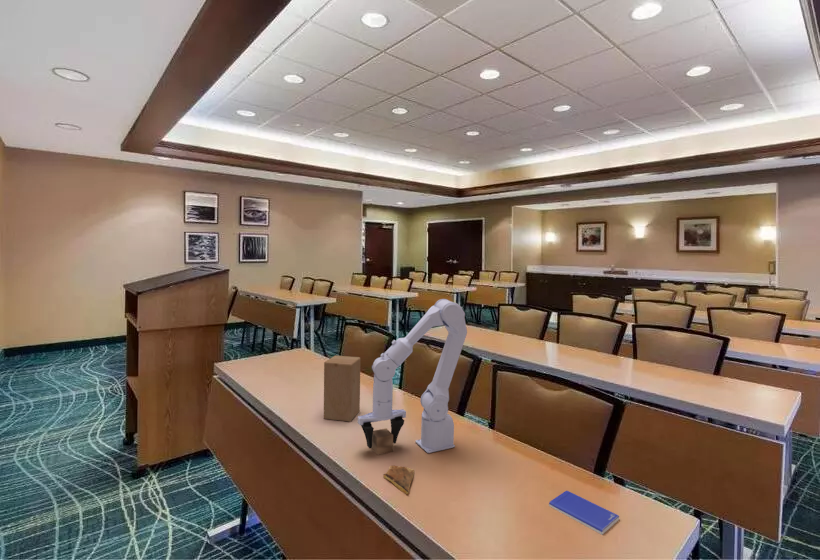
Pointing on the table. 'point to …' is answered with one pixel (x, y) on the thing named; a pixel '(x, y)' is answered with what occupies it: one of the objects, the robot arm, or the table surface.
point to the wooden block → (341, 388)
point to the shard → (400, 477)
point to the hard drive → (584, 512)
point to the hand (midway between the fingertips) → (381, 444)
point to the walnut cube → (382, 441)
